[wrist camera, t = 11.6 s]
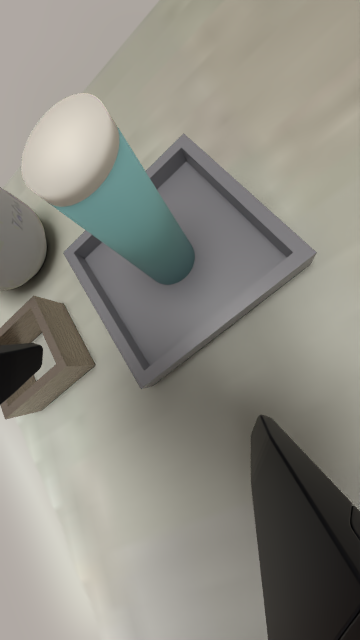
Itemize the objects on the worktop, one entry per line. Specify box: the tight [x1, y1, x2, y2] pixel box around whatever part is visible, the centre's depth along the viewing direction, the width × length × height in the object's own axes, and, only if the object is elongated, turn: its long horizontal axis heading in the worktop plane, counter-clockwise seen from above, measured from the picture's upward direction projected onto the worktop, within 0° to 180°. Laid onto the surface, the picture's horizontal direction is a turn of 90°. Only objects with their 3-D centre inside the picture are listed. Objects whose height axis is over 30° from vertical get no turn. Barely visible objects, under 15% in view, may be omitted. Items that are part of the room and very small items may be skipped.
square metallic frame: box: [0, 296, 95, 419], centre depth 22 cm, size 8×8×4 cm
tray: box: [63, 134, 317, 389], centre depth 20 cm, size 16×16×2 cm
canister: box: [21, 93, 195, 285], centre depth 15 cm, size 5×5×12 cm
